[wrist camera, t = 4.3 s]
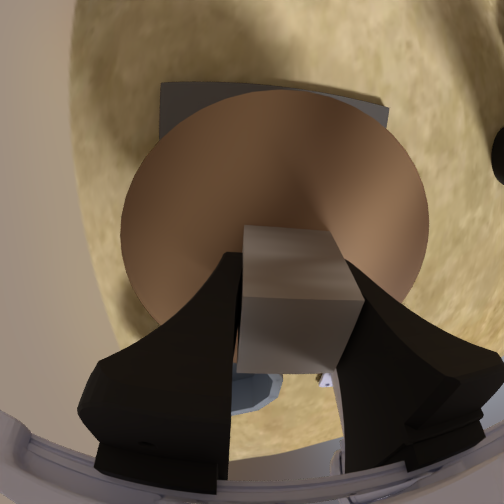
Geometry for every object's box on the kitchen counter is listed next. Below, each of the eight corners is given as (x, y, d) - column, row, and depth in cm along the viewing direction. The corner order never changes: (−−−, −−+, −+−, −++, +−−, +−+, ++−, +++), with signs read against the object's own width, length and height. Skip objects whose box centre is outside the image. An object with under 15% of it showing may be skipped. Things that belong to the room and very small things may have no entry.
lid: (449, 129, 9) (532, 163, 5) (370, 353, 16) (393, 419, 12) (119, 88, 8) (38, 95, 4) (148, 345, 15) (127, 418, 11)
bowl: (285, 307, 24) (292, 348, 20) (269, 381, 29) (271, 416, 25) (153, 298, 23) (138, 337, 19) (168, 374, 29) (161, 408, 25)
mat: (385, 107, 16) (389, 107, 15) (344, 285, 23) (346, 289, 22) (163, 83, 15) (160, 82, 14) (167, 275, 22) (166, 279, 21)
